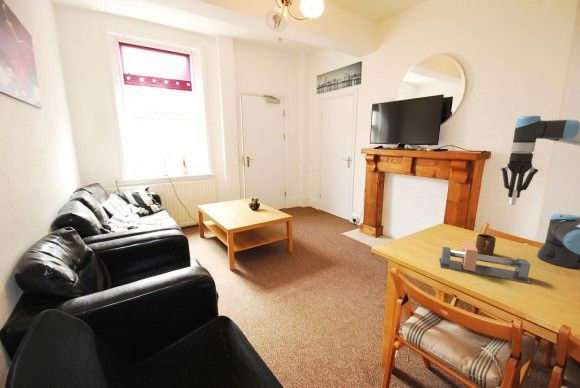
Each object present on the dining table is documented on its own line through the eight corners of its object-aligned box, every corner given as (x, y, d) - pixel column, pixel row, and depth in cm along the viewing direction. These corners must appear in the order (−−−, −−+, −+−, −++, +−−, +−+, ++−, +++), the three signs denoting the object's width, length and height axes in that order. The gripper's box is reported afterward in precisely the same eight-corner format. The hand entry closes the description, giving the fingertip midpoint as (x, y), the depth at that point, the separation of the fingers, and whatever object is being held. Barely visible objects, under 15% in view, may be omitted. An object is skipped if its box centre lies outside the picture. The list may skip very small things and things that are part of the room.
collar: (470, 261, 121) (473, 242, 119) (474, 271, 113) (478, 251, 111) (460, 260, 123) (463, 241, 121) (463, 269, 115) (466, 249, 113)
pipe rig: (522, 273, 113) (525, 257, 112) (530, 283, 105) (534, 266, 104) (439, 259, 127) (441, 244, 125) (440, 267, 119) (442, 251, 117)
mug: (495, 261, 124) (499, 243, 122) (476, 258, 128) (479, 240, 125) (491, 252, 134) (494, 235, 132) (473, 249, 138) (476, 232, 136)
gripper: (537, 152, 114) (527, 203, 119) (501, 151, 119) (492, 201, 125) (545, 153, 107) (533, 207, 112) (506, 152, 113) (496, 204, 118)
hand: (512, 204), depth 118 cm, fingers closed
